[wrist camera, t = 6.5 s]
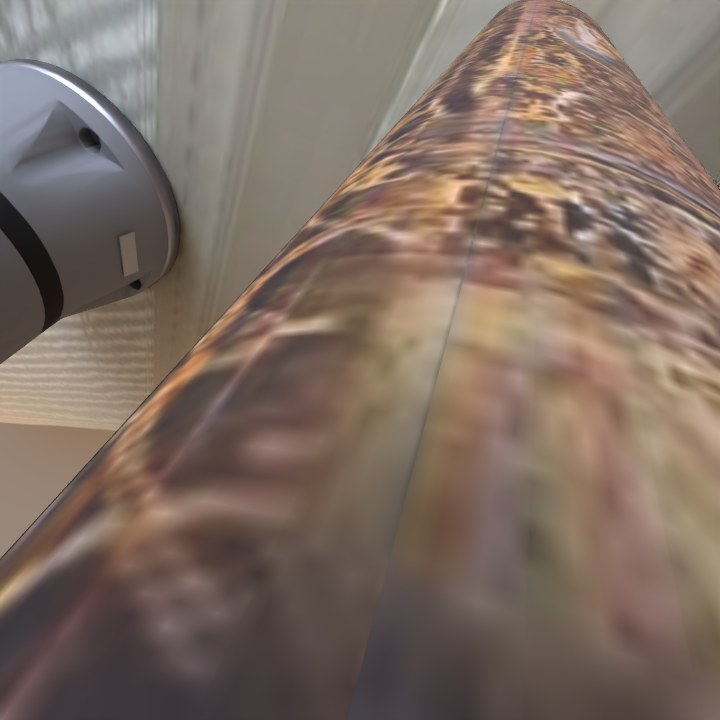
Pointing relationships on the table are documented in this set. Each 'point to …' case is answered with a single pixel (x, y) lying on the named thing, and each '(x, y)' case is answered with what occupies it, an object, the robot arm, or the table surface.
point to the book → (423, 439)
